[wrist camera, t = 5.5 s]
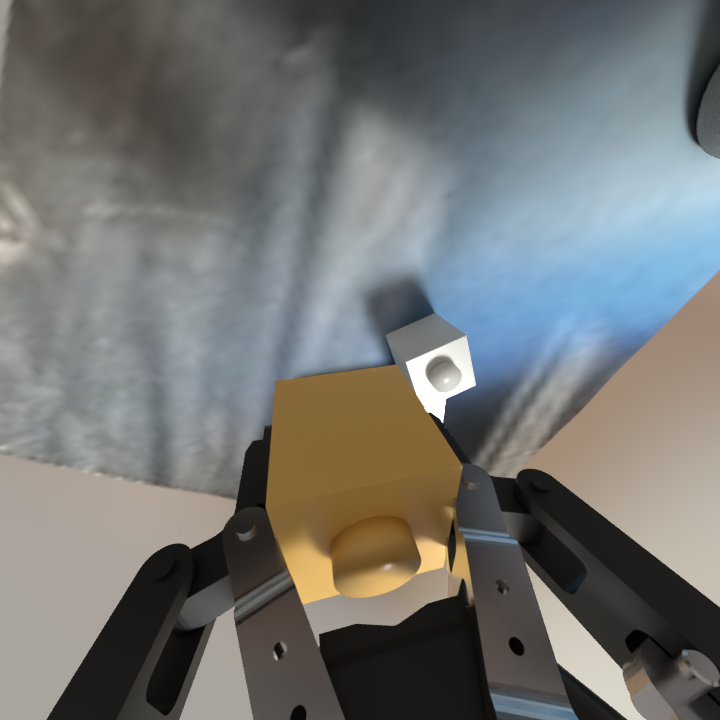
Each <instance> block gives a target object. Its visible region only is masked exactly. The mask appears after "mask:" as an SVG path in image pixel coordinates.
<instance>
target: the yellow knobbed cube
mask: <svg viewBox="0 0 720 720" xmlns="http://www.w3.org/2000/svg"><path fill="white" fill-rule="evenodd" d="M462 468H463V466H462V464H461V463H460V461H459V459H458V458H457V456H456V455H455V453H454V452H453V450H452V449H451V447H450V446H449V444H448V442H447V441H446V439H445V438H444V436H443V435H442V433H441V432H440V430H439V429H438V427H437V426H436V424H435V422H434V421H433V419H432V418H431V416H430V415H429V413H428V412H427V410H426V409H425V407H424V405H423V404H422V402H421V401H420V399H419V398H418V396H417V395H416V393H415V392H414V390H413V389H412V387H411V385H410V384H409V382H408V381H407V379H406V378H405V376H404V375H403V373H402V372H401V370H400V368H399V367H398V365H397V364H396V365H389V366H382V367H374V368H367V369H360V370H353V371H346V372H338V373H331V374H324V375H317V376H310V377H303V378H295V379H288V380H281V381H276V383H275V396H274V408H273V421H272V433H271V445H270V458H269V470H268V483H267V495H266V510H267V513H268V516H269V520H270V523H271V526H272V529H273V533H274V536H275V538H277V539H278V542H279V545H280V548H281V550H282V553H283V556H284V558H285V561H286V564H287V567H288V569H289V572H290V574H291V576H292V578H293V581H294V583H295V586H296V588H297V591H298V594H299V597H300V599H301V602H302V604H305V603H309V602H312V601H316V600H320V599H324V598H328V597H332V596H335V595H339V594H342V595H345V596H348V597H355V598H363V597H371V596H376V595H380V594H383V593H386V592H388V591H391V590H393V589H396V588H397V587H399V586H401V585H403V584H404V583H406V582H407V581H408V580H410V579H411V578H412V577H413V576H414V575H415V574H419V573H422V572H426V571H430V570H434V569H438V568H442V567H443V565H444V560H445V555H446V554H445V542H446V538H448V537H449V535H450V529H451V524H452V519H453V513H452V504H453V499H454V498H456V497H457V494H458V488H459V483H460V478H461V473H462Z"/></svg>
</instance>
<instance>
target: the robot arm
mask: <svg viewBox="0 0 720 720" xmlns="http://www.w3.org/2000/svg"><path fill="white" fill-rule="evenodd" d="M428 413H429V415H430V416H431V418H432V419H433V421H434V422H435V424H436V426H437V427H438V429H439V430H440V432H441V433H442V435H443V436H444V438H445V439H446V441H447V442H448V444H449V446H450V447H451V449H452V450H453V452H454V453H455V455H456V456H457V458H458V459H459V461H460V463H461V464H462V466H463V468H462V473H461V478H460V483H459V488H458V494H457V497H456V498H454V499H453V504H452V513H453V519H452V524H451V529H450V535H449V537H448V538H446V542H445V554H446V563H447V573H448V598H446V599H443V600H439V601H435V602H432V603H428V604H427V605H425V606H424V607H422V608H421V609H419V610H418V611H417V612H415V613H414V614H412V615H411V616H410V617H408V618H407V619H405V620H404V621H402V622H401V623H400V624H398V625H396V626H383V625H366V624H354V625H350V626H347V627H343V628H340V629H336V630H333V631H330V632H326V633H322V634H319V640H320V646H319V647H318V645H317V642H316V640H315V637H314V634H313V632H312V629H311V626H310V624H309V621H308V618H307V615H306V613H305V610H304V607H303V605H302V602H301V599H300V597H299V594H298V591H297V588H296V586H295V583H294V581H293V578H292V576H291V574H290V572H289V569H288V567H287V564H286V561H285V558H284V556H283V553H282V550H281V548H280V545H279V542H278V539H277V538H275V536H274V533H273V529H272V526H271V523H270V520H269V516H268V513H267V510H266V495H267V483H268V470H269V458H270V445H271V433H272V425H269V426H265V429H264V437H263V440H257V441H253V442H252V443H251V445H250V446H249V448H248V449H247V451H246V453H245V458H244V465H243V469H242V475H241V481H240V486H239V492H238V498H237V503H236V509H235V513H234V515H233V516H232V517H231V518H230V519H229V521H228V522H227V523H226V525H225V527H224V529H223V530H222V531H221V532H220V533H219V534H217V535H216V536H214V537H213V538H211V539H209V540H207V541H205V542H203V543H201V544H200V545H197V546H196V547H194V548H192V549H190V548H189V547H188V546H186V545H184V544H172V545H168V546H166V547H164V548H162V549H160V550H159V551H157V552H156V553H154V554H153V555H152V556H151V557H150V558H149V559H148V560H147V561H146V562H145V563H144V564H143V565H142V567H141V568H140V570H139V571H138V573H137V574H136V576H135V578H134V579H133V581H132V583H131V584H130V586H129V587H128V589H127V591H126V592H125V594H124V596H123V597H122V599H121V600H120V602H119V604H118V605H117V607H116V608H115V610H114V612H113V613H112V615H111V616H110V618H109V620H108V621H107V623H106V625H105V626H104V628H103V629H102V631H101V633H100V634H99V636H98V637H97V639H96V641H95V642H94V644H93V646H92V647H91V649H90V650H89V652H88V654H87V655H86V657H85V659H84V660H83V662H82V663H81V665H80V667H79V668H78V670H77V671H76V673H75V674H74V676H73V678H72V679H71V681H70V683H69V684H68V686H67V687H66V689H65V691H64V692H63V694H62V696H61V697H60V699H59V700H58V702H57V704H56V705H55V707H54V708H53V710H52V712H51V713H50V715H49V716H48V718H47V720H179V718H180V715H181V713H182V710H183V708H184V705H185V702H186V699H187V697H188V694H189V691H190V688H191V686H192V683H193V680H194V678H195V675H196V672H197V669H198V667H199V664H200V661H201V658H202V656H203V653H204V650H205V647H206V645H207V642H208V639H209V637H210V634H211V631H212V628H213V626H214V623H215V620H216V618H217V617H218V616H220V615H221V614H223V613H224V612H226V611H228V610H229V609H231V608H232V607H234V606H235V610H234V620H235V626H236V631H237V636H238V642H239V647H240V652H241V657H242V662H243V667H244V673H245V678H246V683H247V688H248V693H249V698H250V704H251V709H252V714H253V719H254V720H627V719H626V718H624V717H623V716H622V715H621V714H620V713H618V712H617V711H616V710H615V709H613V708H612V707H611V706H610V705H609V704H607V703H606V702H605V701H603V700H602V699H601V698H600V697H599V696H597V695H596V694H595V693H594V692H592V691H591V690H590V689H589V688H588V687H586V686H585V685H584V684H583V683H581V682H580V681H579V680H578V679H576V678H575V677H574V676H573V675H572V674H570V673H569V672H568V671H566V670H565V669H564V668H563V667H562V666H560V665H559V664H558V663H557V662H556V659H555V656H554V652H553V649H552V646H551V643H550V640H549V637H548V634H547V631H546V627H545V624H544V621H543V618H542V615H541V611H540V609H539V605H538V602H537V599H536V596H535V592H534V589H533V586H532V583H531V580H530V577H529V574H528V571H527V567H526V564H525V562H526V563H527V564H528V566H529V567H530V568H531V569H532V570H533V571H534V572H535V573H536V574H537V576H538V577H539V578H540V579H541V580H542V581H543V582H544V583H545V584H546V585H547V587H548V588H549V589H550V590H551V591H552V592H553V593H554V594H555V595H556V597H557V598H558V599H559V600H560V601H561V602H562V603H563V604H564V605H565V607H566V608H567V609H568V610H569V611H570V612H571V613H572V614H573V615H574V616H575V618H576V619H577V620H578V621H579V622H580V623H581V624H582V625H583V627H584V628H585V629H586V630H587V631H588V632H589V633H590V634H591V635H592V637H593V638H594V639H595V640H596V641H597V642H598V643H599V644H600V645H601V646H602V648H603V649H604V650H605V651H606V652H607V653H608V654H609V655H610V656H611V657H612V659H613V660H614V661H615V662H616V663H617V664H618V665H619V666H620V667H621V669H622V670H623V677H624V681H625V684H626V686H627V689H628V691H629V693H630V697H631V700H632V703H633V705H634V707H635V708H636V709H637V711H638V712H639V713H640V714H641V715H642V716H643V717H644V718H645V719H647V720H720V607H718V606H717V605H716V604H715V603H713V602H712V601H711V600H710V599H708V598H707V597H706V596H705V595H703V594H702V593H701V592H699V591H698V590H697V589H696V588H694V587H693V586H692V585H690V584H689V583H688V582H687V581H685V580H684V579H683V578H681V577H680V576H679V575H678V574H676V573H675V572H674V571H672V570H671V569H670V568H669V567H667V566H666V565H665V564H663V563H662V562H661V561H660V560H658V559H657V558H656V557H655V556H653V555H652V554H651V553H649V552H648V551H647V550H645V549H644V548H643V547H642V546H640V545H639V544H638V543H636V542H635V541H634V540H633V539H631V538H630V537H629V536H628V535H626V534H625V533H624V532H622V531H621V530H620V529H619V528H617V527H616V526H615V525H613V524H612V523H611V522H610V521H608V520H607V519H606V518H604V517H603V516H602V515H601V514H599V513H598V512H597V511H595V510H594V509H593V508H591V507H590V506H589V505H588V504H586V503H585V502H584V501H583V500H581V499H580V498H579V497H578V496H576V495H575V494H574V493H572V492H571V491H570V490H569V489H567V488H566V487H565V486H563V485H562V484H561V483H560V482H558V481H557V480H556V479H554V478H553V477H552V476H550V475H548V474H547V473H545V472H542V471H540V470H536V469H525V470H522V471H520V472H519V473H518V475H517V478H516V479H513V478H502V477H494V476H490V475H489V474H488V473H487V472H486V471H485V470H483V469H482V468H480V467H479V466H476V465H473V464H471V463H470V461H469V460H468V459H467V457H466V456H465V454H464V453H463V451H462V450H461V448H460V447H459V445H458V444H457V442H456V441H455V440H454V438H453V437H452V436H451V434H450V432H449V431H448V429H446V426H445V425H444V424H443V422H442V421H441V419H440V418H439V417H437V416H436V415H435V414H433V413H432V412H428Z"/></svg>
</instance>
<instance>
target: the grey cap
mask: <svg viewBox="0 0 720 720" xmlns="http://www.w3.org/2000/svg"><path fill="white" fill-rule="evenodd" d="M385 336H386V339H387V341H388V344H389V347H390V350H391V353H392V355H393V358H394V361H395V364H397V365H398V367H399V368H400V370H401V372H402V373H403V375H404V376H405V378H406V379H407V381H408V382H409V384H410V385H411V387H412V389H413V390H414V392H415V393H416V395H417V396H418V398H419V399H420V401H421V402H422V404H423V405H424V407H425V408H426V407H428V406H431V405H433V404H435V403H437V402H440V401H442V400H444V399H446V398H449V397H451V396H453V395H455V394H458V393H460V392H462V391H464V390H467V389H469V388H471V387H473V386H476V383H475V378H474V373H473V368H472V363H471V357H470V352H469V347H468V342H467V337H466V335H465V334H463V333H462V332H461V331H459V330H458V329H456V328H455V327H454V326H452V325H451V324H450V323H448V322H447V321H445V320H444V319H443V318H441V317H440V316H439V315H437V314H436V313H434V314H431V315H429V316H427V317H425V318H422V319H420V320H418V321H416V322H413V323H411V324H409V325H407V326H404V327H402V328H400V329H397V330H395V331H393V332H391V333H388V334H386V335H385Z"/></svg>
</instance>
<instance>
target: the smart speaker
mask: <svg viewBox="0 0 720 720" xmlns="http://www.w3.org/2000/svg"><path fill="white" fill-rule="evenodd" d="M696 134H697V139H698V142H699V144H700V146H701V147H702V149H703V150H704V151H705V152H706V153H708V154H709V155H711V156H713V157H716V158H719V159H720V64H719V65H718V67H717V68H716V70H715V71H714V73H713V75H712V76H711V78H710V80H709V82H708V84H707V86H706V88H705V90H704V93H703V95H702V98H701V101H700V104H699V108H698V112H697V118H696Z"/></svg>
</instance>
